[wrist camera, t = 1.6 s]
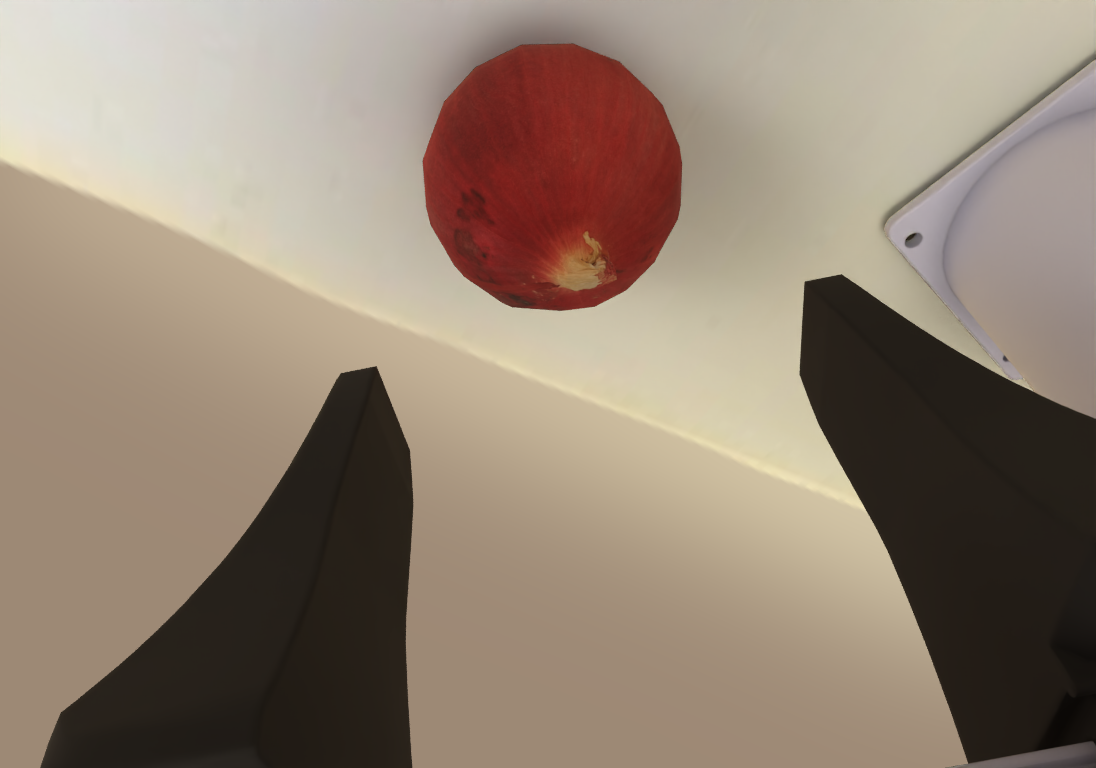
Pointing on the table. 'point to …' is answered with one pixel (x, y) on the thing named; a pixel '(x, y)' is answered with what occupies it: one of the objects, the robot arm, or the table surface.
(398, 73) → the table surface
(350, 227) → the table surface
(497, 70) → the onion
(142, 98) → the table surface
